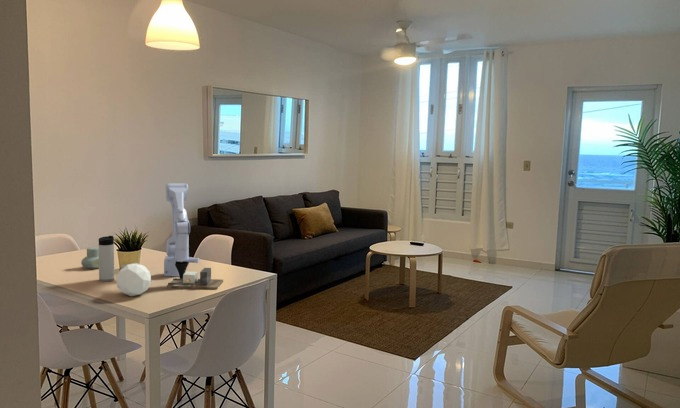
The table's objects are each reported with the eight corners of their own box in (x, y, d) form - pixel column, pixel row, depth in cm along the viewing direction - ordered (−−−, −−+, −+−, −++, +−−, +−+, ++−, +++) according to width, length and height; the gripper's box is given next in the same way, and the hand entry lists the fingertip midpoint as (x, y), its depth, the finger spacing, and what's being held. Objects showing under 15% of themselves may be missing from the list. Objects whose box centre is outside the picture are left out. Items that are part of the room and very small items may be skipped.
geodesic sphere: (105, 287, 200) (128, 259, 202) (106, 278, 212) (127, 252, 214) (137, 306, 205) (159, 278, 207) (136, 296, 218) (156, 270, 220)
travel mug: (118, 279, 233) (117, 236, 231) (107, 282, 227) (106, 238, 225) (107, 277, 235) (106, 235, 233) (96, 281, 229) (95, 237, 227)
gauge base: (166, 288, 221) (166, 272, 221) (175, 280, 234) (175, 265, 234) (216, 289, 222) (217, 273, 221) (223, 281, 235) (223, 266, 234)
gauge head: (181, 285, 222) (181, 276, 222) (186, 280, 231) (186, 271, 230) (192, 285, 222) (192, 276, 222) (197, 280, 231) (197, 271, 231)
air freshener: (88, 271, 246) (88, 250, 245) (78, 268, 250) (77, 248, 249) (108, 266, 255) (108, 247, 254) (98, 264, 259) (98, 245, 258)
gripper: (162, 249, 222) (162, 280, 223) (196, 250, 222) (196, 280, 224) (167, 246, 229) (167, 276, 230) (200, 247, 229) (200, 276, 231)
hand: (182, 278), depth 228 cm, fingers closed
